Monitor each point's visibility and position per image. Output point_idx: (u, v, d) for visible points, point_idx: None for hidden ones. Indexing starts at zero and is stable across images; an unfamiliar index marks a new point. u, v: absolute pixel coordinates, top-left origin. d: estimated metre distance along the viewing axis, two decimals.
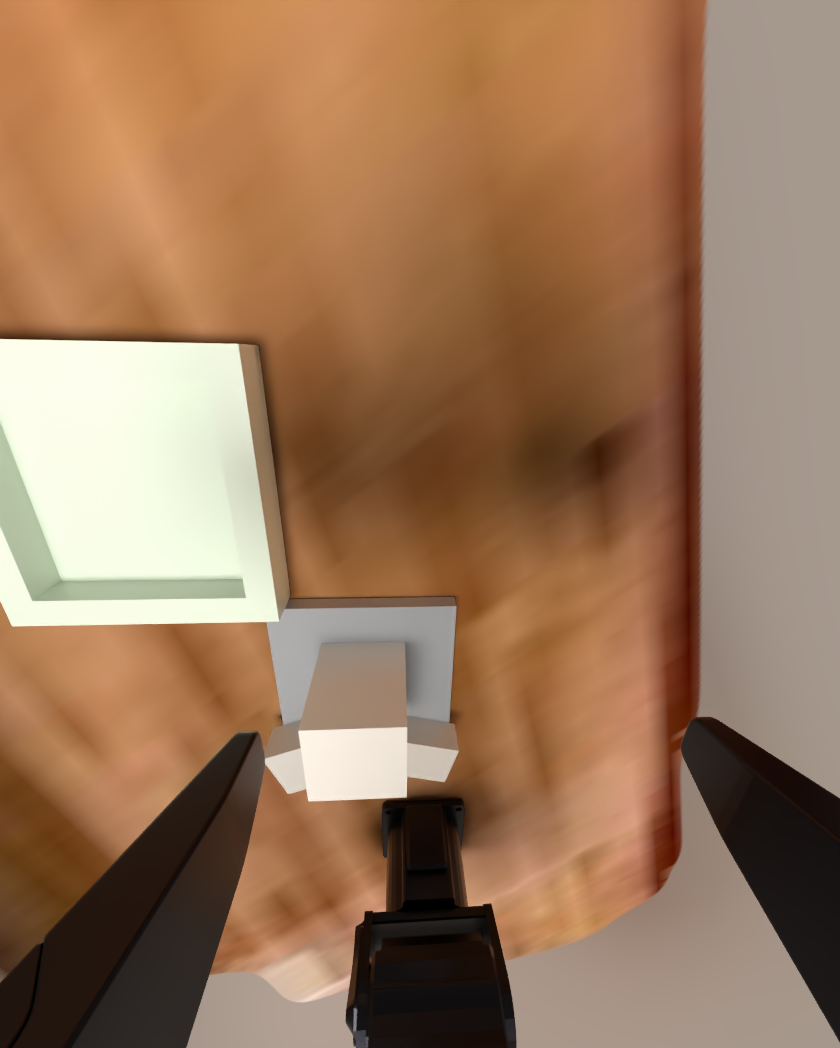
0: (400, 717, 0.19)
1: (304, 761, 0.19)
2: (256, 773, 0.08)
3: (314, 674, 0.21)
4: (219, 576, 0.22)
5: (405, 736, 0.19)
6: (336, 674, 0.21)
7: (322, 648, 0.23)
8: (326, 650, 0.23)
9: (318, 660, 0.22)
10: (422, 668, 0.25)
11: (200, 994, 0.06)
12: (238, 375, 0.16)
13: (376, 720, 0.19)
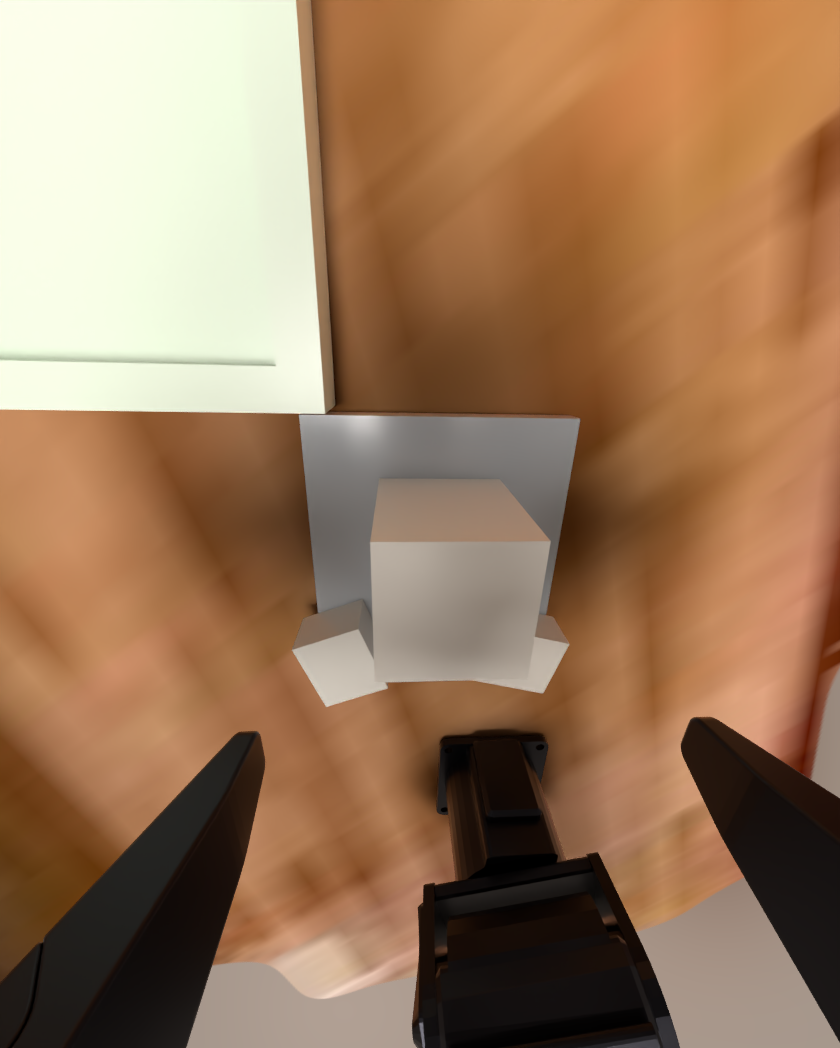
0: (533, 533, 0.12)
1: (375, 605, 0.12)
2: (256, 773, 0.08)
3: (378, 498, 0.14)
4: (232, 357, 0.15)
5: (544, 560, 0.11)
6: (412, 499, 0.14)
7: (382, 481, 0.16)
8: (388, 483, 0.16)
9: (380, 489, 0.15)
10: None
11: (200, 994, 0.06)
12: None
13: (495, 535, 0.11)
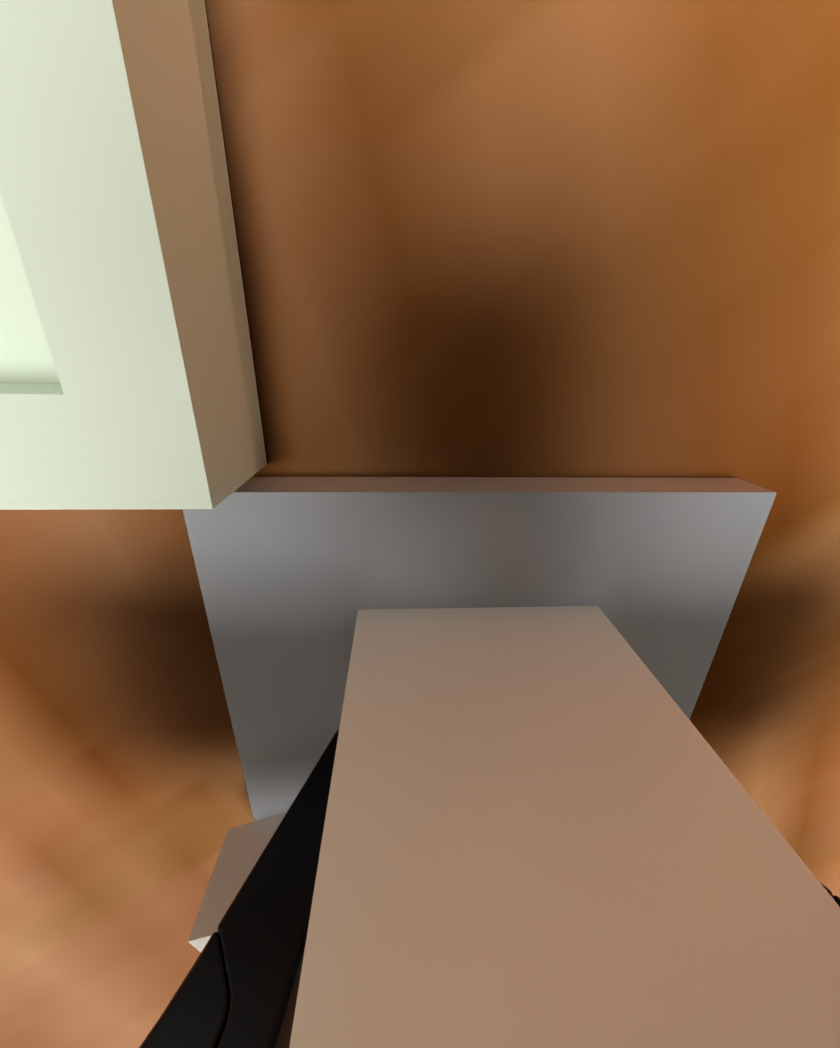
0: None
1: None
2: None
3: (347, 711, 0.06)
4: (16, 369, 0.06)
5: None
6: (429, 712, 0.06)
7: (363, 622, 0.08)
8: (375, 629, 0.07)
9: (355, 659, 0.07)
10: None
11: None
12: None
13: (748, 1019, 0.03)
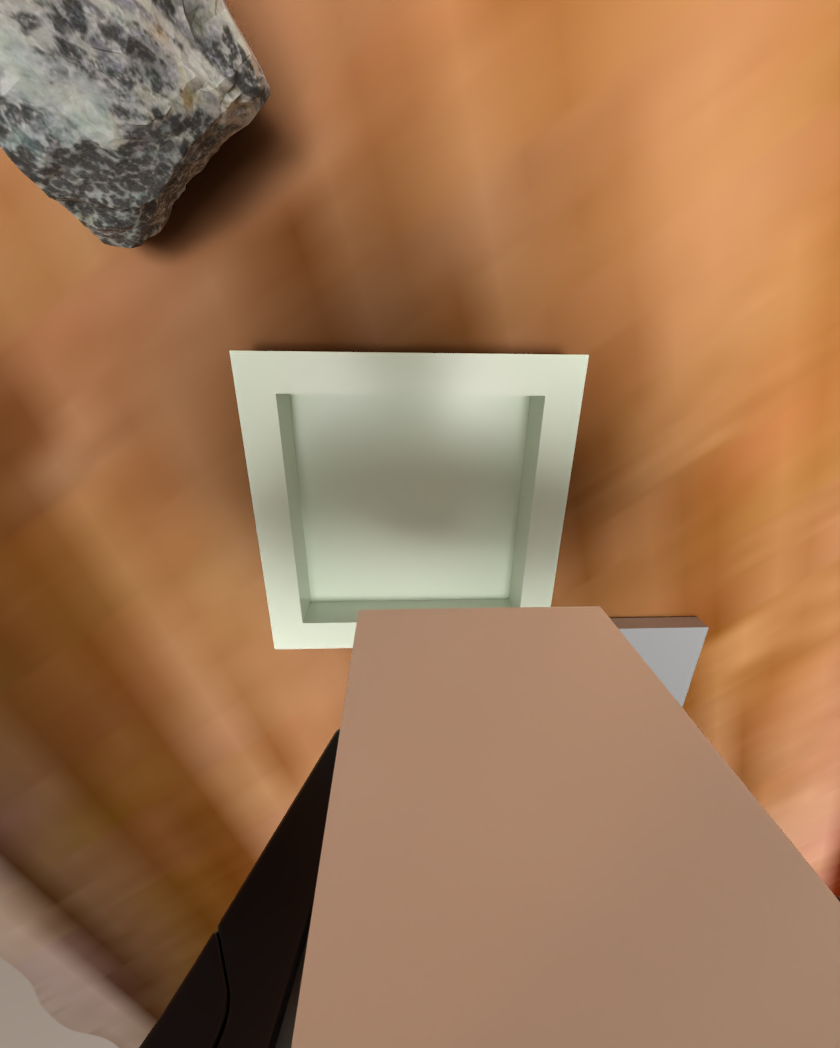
0: None
1: None
2: None
3: (347, 712, 0.06)
4: (470, 596, 0.21)
5: None
6: (431, 713, 0.06)
7: (364, 623, 0.08)
8: (376, 630, 0.07)
9: (356, 660, 0.07)
10: None
11: None
12: (579, 387, 0.16)
13: (756, 1027, 0.03)
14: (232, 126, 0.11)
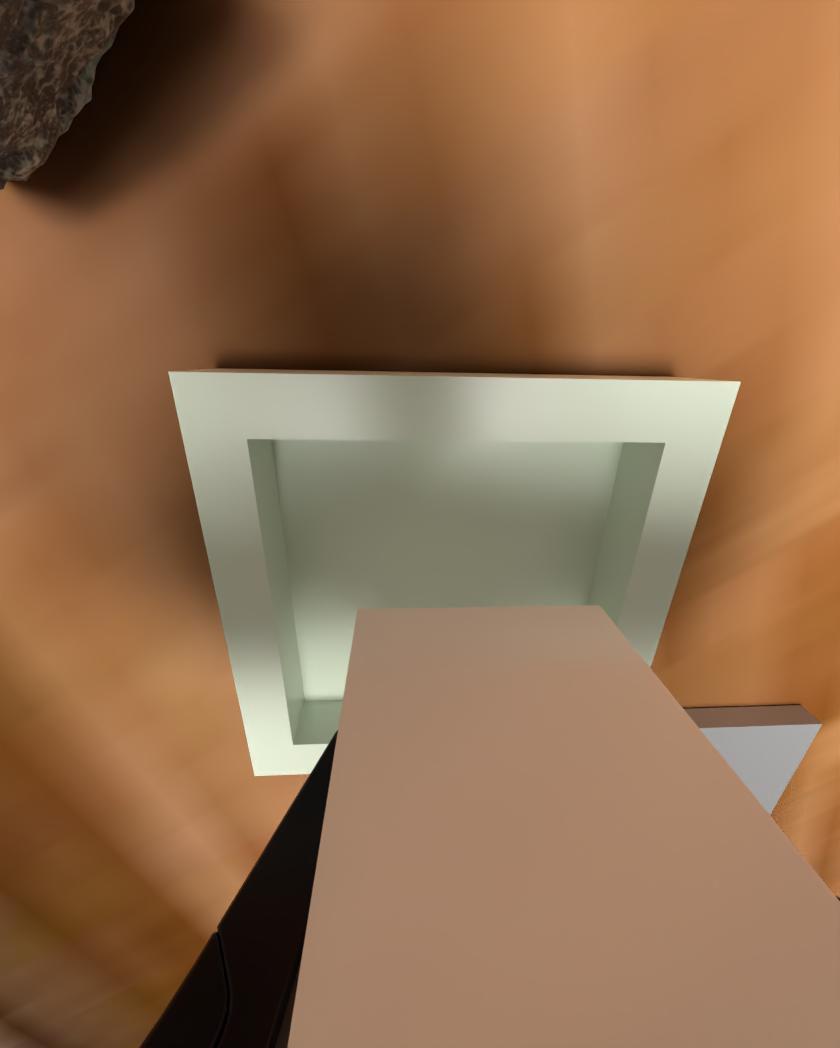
0: None
1: None
2: None
3: (346, 711, 0.06)
4: None
5: None
6: (429, 713, 0.06)
7: (362, 622, 0.08)
8: (374, 629, 0.07)
9: (354, 659, 0.07)
10: None
11: None
12: (718, 431, 0.10)
13: (756, 1028, 0.03)
14: None
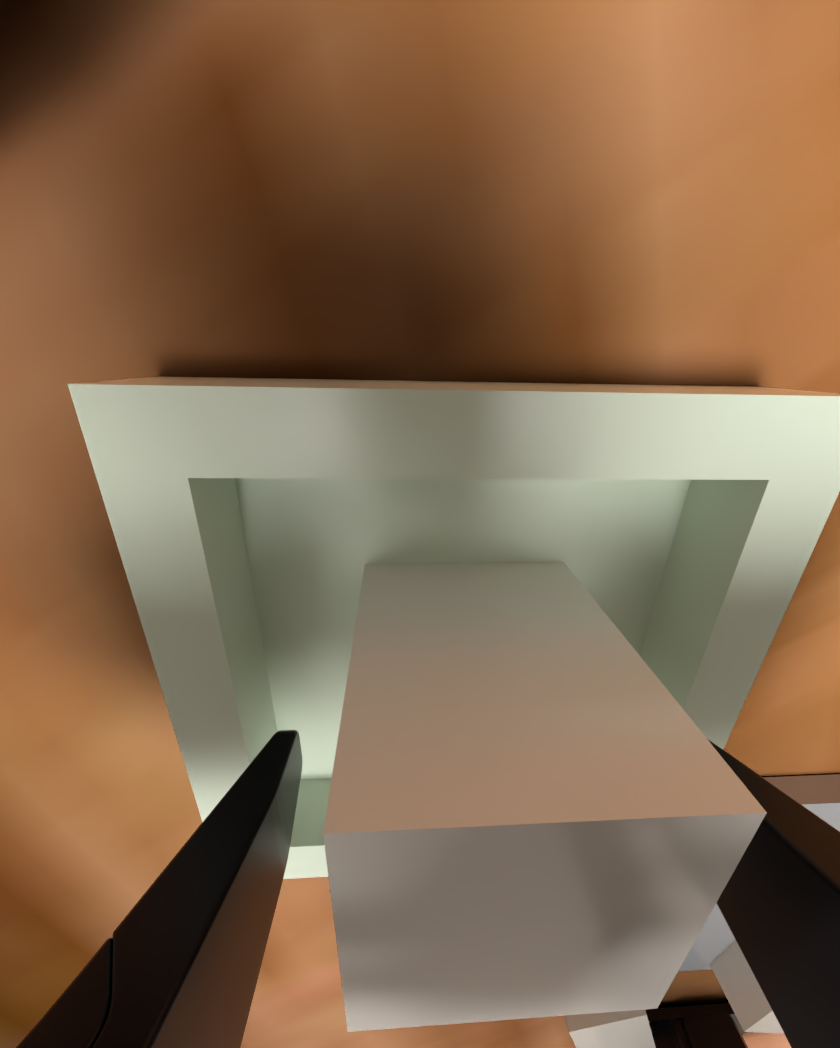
0: (705, 767, 0.05)
1: (342, 933, 0.05)
2: (296, 772, 0.08)
3: (358, 627, 0.07)
4: None
5: (742, 845, 0.05)
6: (422, 629, 0.07)
7: (369, 572, 0.09)
8: (379, 577, 0.09)
9: (364, 596, 0.08)
10: None
11: (252, 991, 0.06)
12: None
13: (624, 781, 0.05)
14: None
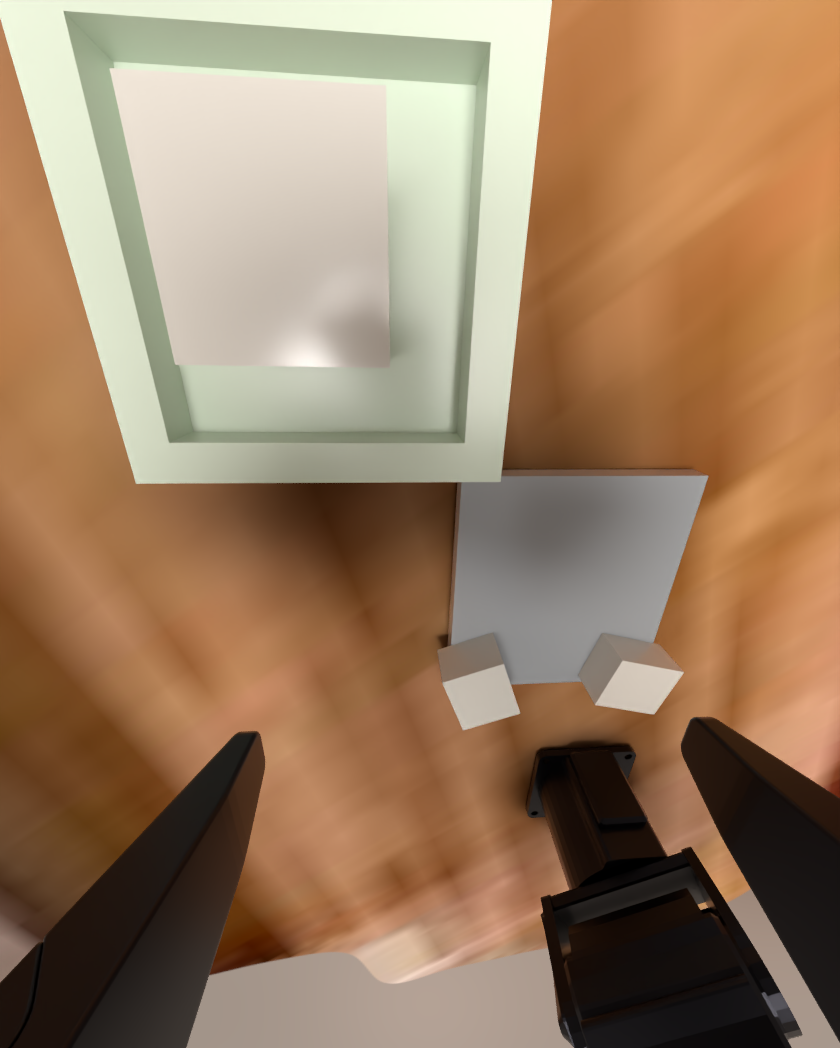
0: None
1: (145, 208, 0.08)
2: (256, 773, 0.08)
3: None
4: (407, 427, 0.16)
5: (382, 127, 0.08)
6: None
7: None
8: None
9: None
10: (641, 566, 0.19)
11: (200, 994, 0.06)
12: (541, 28, 0.10)
13: None
14: None
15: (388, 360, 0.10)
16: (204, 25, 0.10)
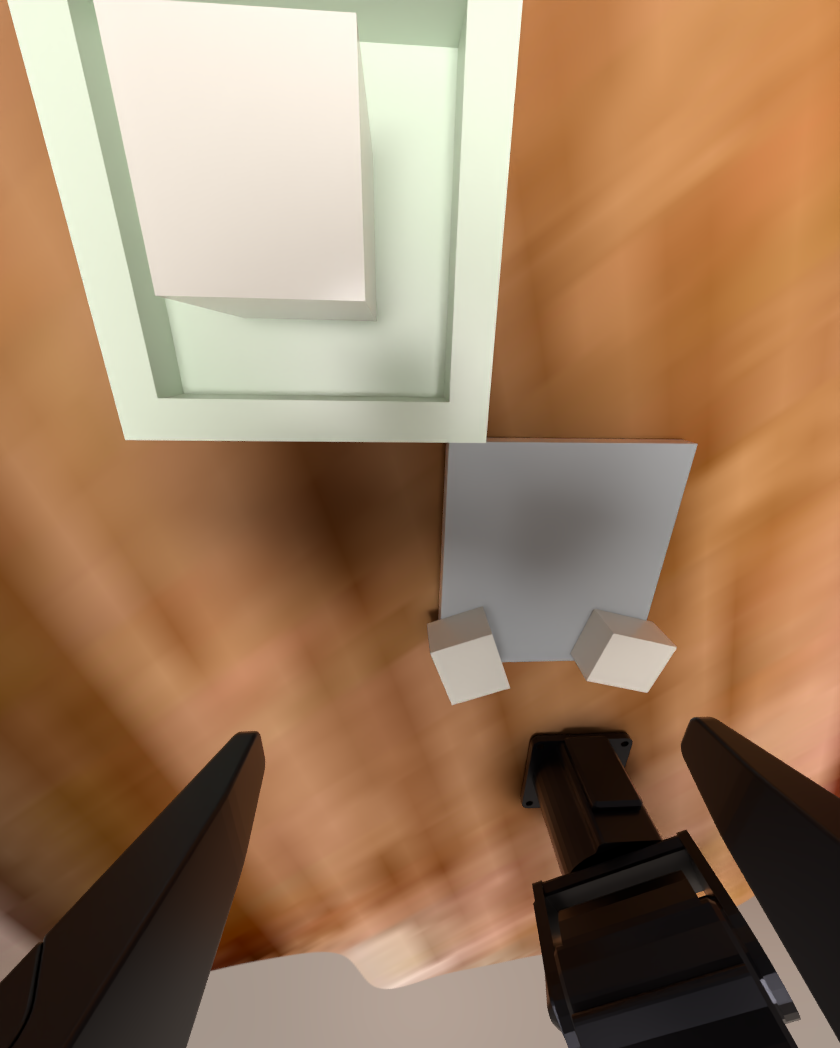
0: None
1: (126, 136, 0.08)
2: (256, 773, 0.08)
3: None
4: (394, 391, 0.16)
5: (353, 55, 0.08)
6: None
7: None
8: None
9: None
10: (632, 538, 0.19)
11: (200, 995, 0.06)
12: None
13: None
14: None
15: (363, 293, 0.10)
16: None
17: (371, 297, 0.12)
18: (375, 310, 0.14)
